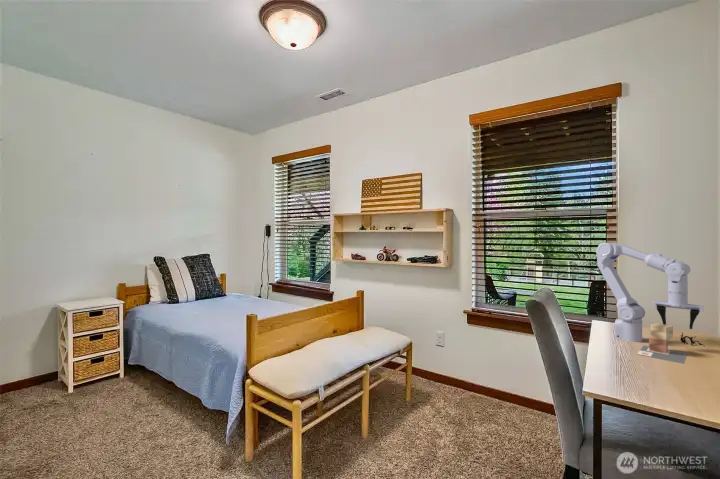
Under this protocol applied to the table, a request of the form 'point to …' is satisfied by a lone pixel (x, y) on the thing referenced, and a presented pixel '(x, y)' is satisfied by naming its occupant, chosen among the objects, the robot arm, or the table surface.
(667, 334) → the maple block
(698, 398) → the table surface
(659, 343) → the rust block
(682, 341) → the creature
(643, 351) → the build board
